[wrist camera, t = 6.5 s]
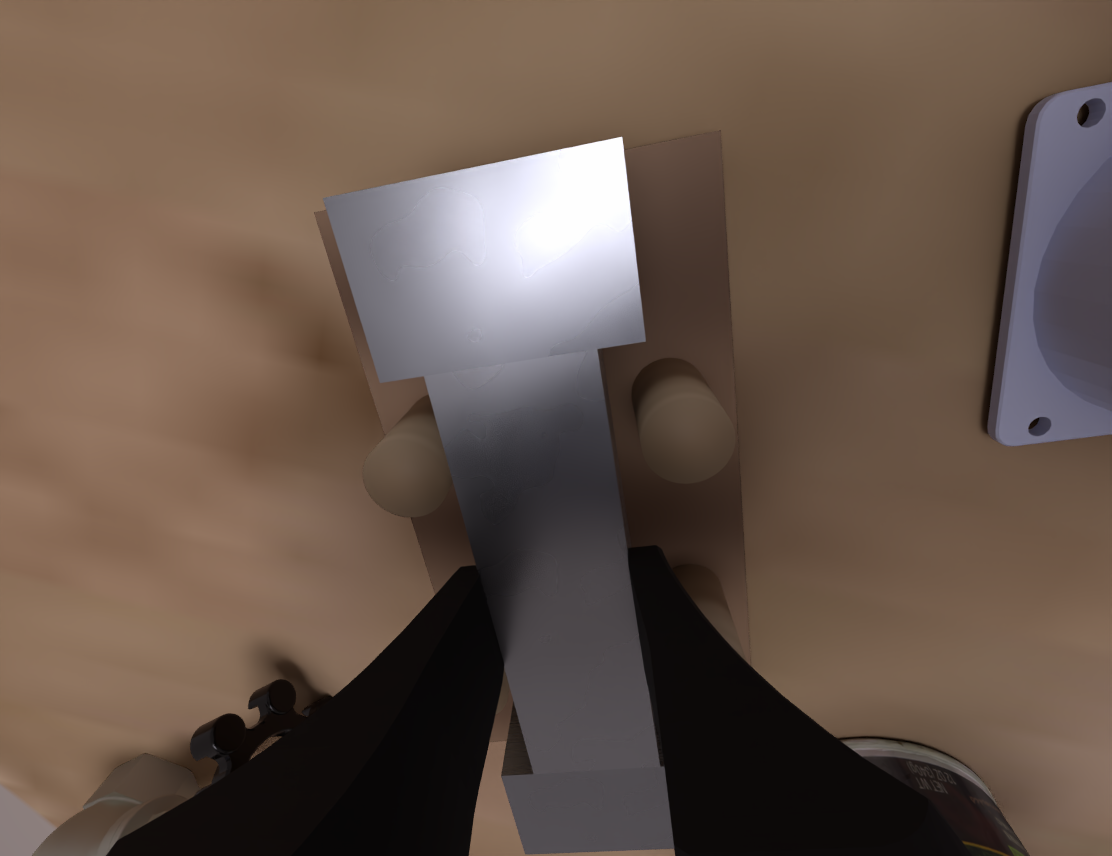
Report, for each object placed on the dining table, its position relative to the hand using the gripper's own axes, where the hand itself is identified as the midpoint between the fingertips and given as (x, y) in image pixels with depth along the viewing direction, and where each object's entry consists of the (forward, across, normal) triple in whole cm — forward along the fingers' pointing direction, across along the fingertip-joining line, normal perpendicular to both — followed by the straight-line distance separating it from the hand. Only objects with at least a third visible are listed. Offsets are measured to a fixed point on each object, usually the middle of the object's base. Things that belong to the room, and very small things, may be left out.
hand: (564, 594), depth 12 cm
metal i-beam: (+3, 0, 0) cm, 3 cm away
